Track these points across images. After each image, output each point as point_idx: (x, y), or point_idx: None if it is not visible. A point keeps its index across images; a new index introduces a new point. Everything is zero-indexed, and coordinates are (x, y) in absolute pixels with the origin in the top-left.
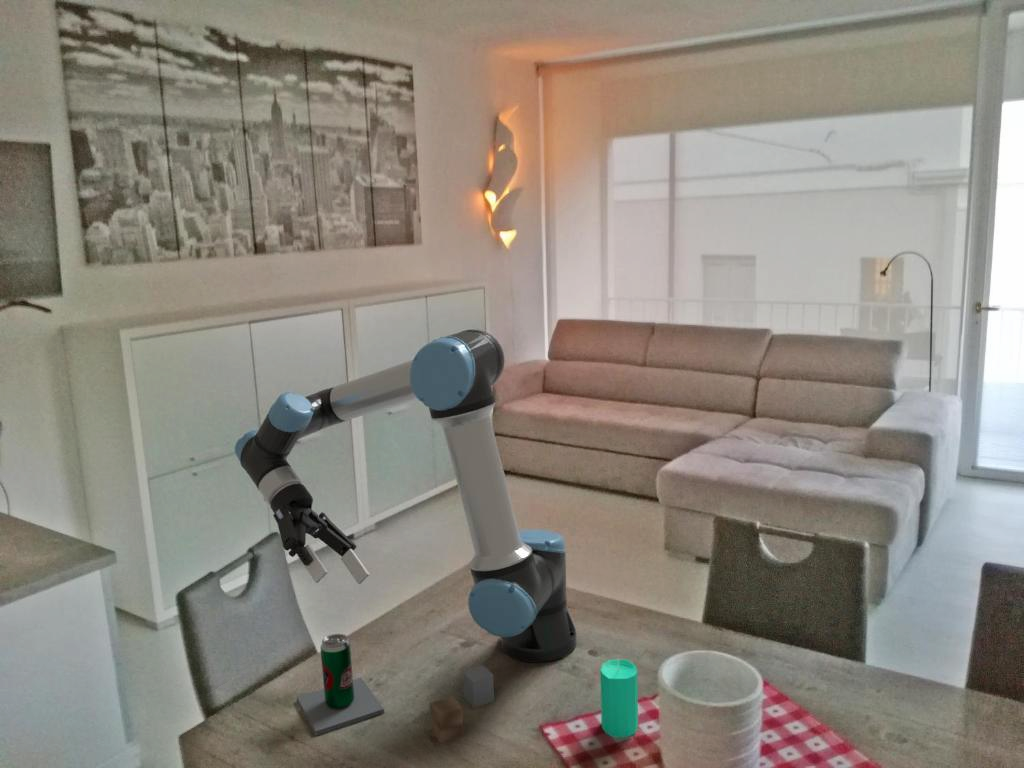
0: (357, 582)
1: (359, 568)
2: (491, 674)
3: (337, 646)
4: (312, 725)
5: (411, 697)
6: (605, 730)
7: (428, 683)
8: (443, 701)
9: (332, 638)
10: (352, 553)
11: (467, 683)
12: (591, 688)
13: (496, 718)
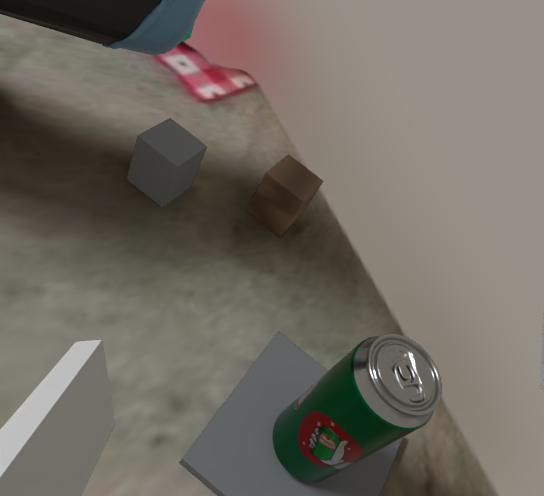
0: (111, 428)
1: (83, 396)
2: (169, 120)
3: (418, 348)
4: (395, 453)
5: (201, 303)
6: (186, 37)
7: (134, 286)
8: (286, 182)
9: (405, 383)
10: (17, 459)
11: (186, 170)
12: (71, 37)
13: (207, 153)
